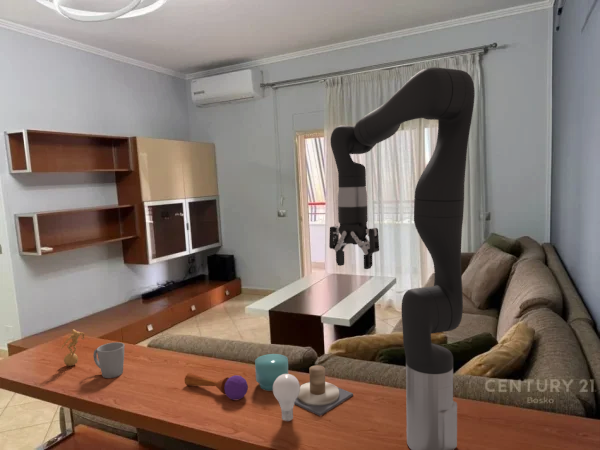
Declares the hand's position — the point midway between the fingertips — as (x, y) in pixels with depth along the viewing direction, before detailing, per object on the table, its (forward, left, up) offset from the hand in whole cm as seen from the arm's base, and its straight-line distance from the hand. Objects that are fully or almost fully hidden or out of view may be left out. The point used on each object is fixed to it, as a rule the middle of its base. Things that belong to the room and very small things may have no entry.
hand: (353, 266), depth 110 cm
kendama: (+28, +25, -34) cm, 50 cm away
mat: (+5, +10, -33) cm, 35 cm away
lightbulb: (+3, +23, -33) cm, 40 cm away
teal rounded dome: (+19, +13, -33) cm, 40 cm away
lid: (+5, +10, -32) cm, 34 cm away
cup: (+62, +40, -33) cm, 81 cm away
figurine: (+77, +45, -33) cm, 95 cm away
